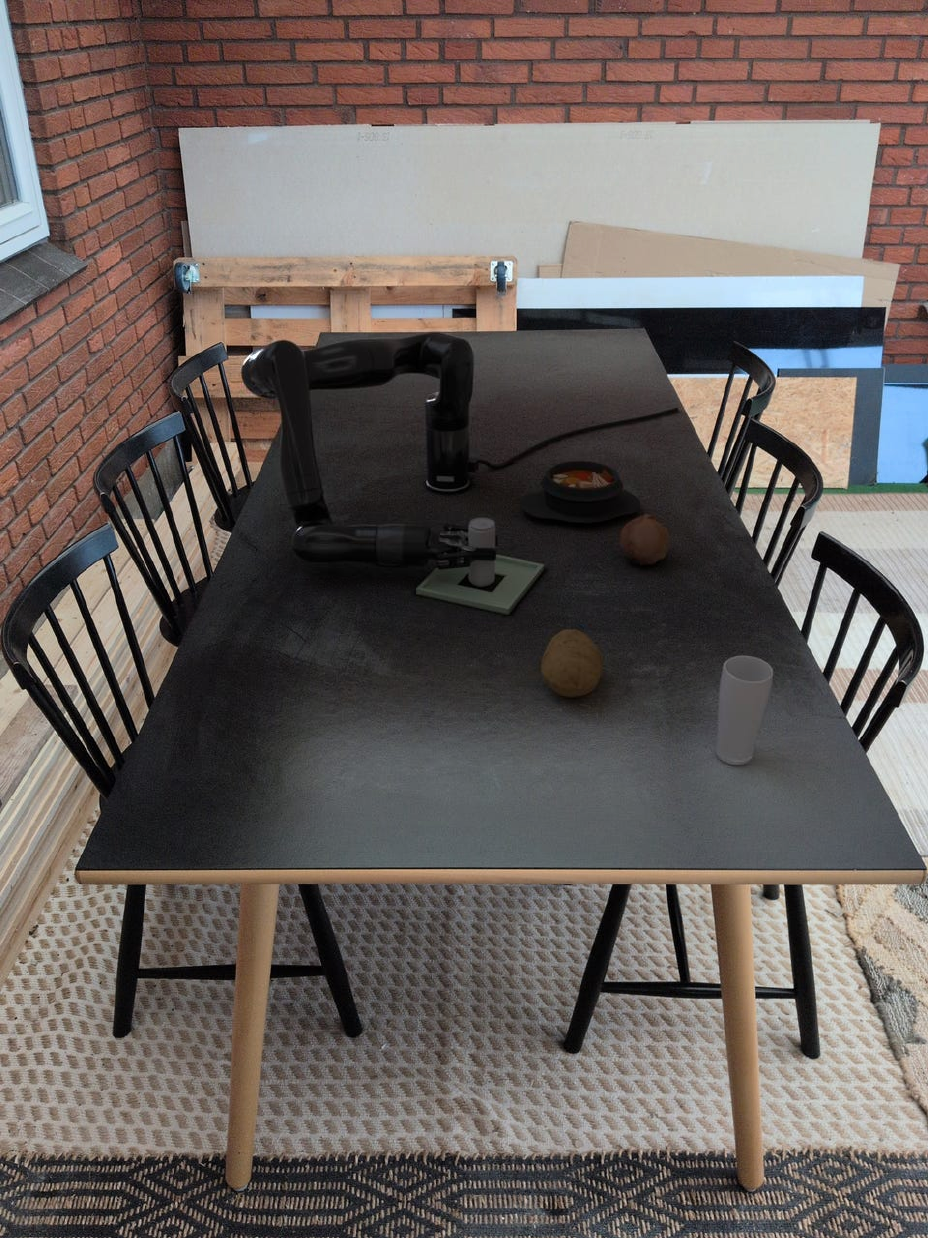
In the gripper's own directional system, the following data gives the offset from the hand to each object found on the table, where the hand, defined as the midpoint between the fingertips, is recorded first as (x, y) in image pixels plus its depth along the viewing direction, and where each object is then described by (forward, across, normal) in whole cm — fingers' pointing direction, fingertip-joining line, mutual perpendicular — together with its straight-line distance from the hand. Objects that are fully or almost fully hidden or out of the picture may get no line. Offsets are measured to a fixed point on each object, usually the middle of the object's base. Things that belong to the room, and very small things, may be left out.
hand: (496, 547), depth 187 cm
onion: (+28, +10, +7) cm, 30 cm away
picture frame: (-3, 0, +7) cm, 8 cm away
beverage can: (-3, 0, +7) cm, 8 cm away
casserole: (+16, +31, +7) cm, 36 cm away
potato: (+13, -32, +7) cm, 36 cm away
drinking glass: (+36, -48, +7) cm, 61 cm away
